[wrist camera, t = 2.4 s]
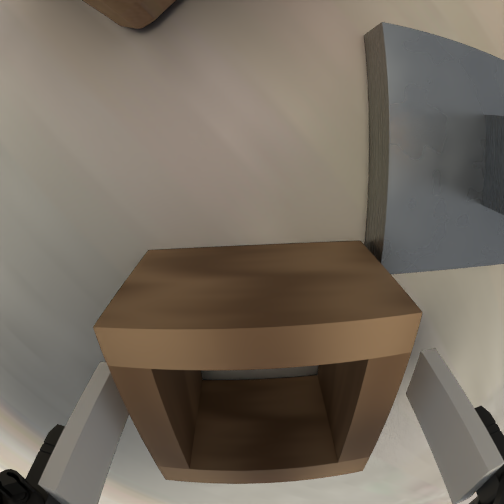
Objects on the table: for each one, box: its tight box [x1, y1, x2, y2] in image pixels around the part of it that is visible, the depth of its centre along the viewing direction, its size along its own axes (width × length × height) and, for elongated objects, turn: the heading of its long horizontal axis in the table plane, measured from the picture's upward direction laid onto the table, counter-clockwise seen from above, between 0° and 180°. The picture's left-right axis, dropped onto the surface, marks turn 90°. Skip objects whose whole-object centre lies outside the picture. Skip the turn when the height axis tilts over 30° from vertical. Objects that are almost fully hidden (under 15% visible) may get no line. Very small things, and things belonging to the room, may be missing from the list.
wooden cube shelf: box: [93, 241, 422, 484], centre depth 12 cm, size 10×10×6 cm
